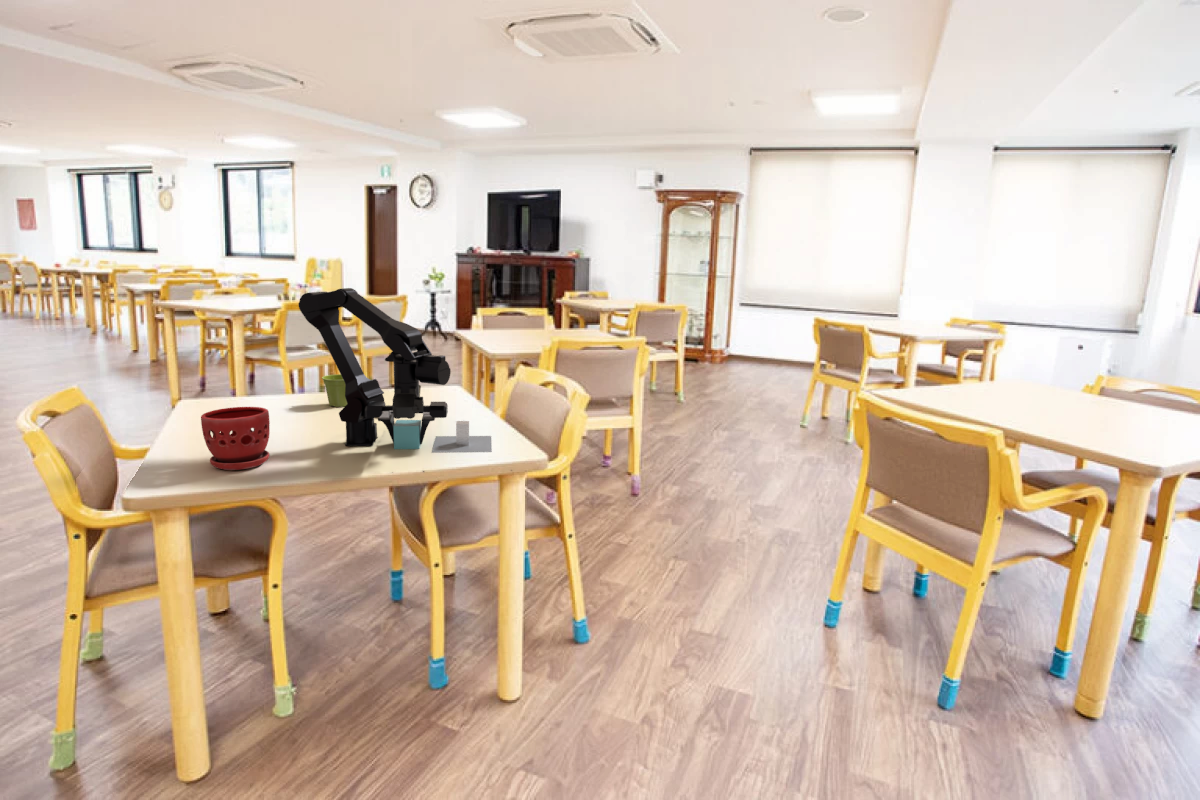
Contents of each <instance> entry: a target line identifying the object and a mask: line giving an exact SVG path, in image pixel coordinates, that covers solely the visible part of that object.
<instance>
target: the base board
mask: <svg viewBox="0 0 1200 800" xmlns="http://www.w3.org/2000/svg"><path fill="white" fill-rule="evenodd" d="M434 437H435V438H434V442H433V447H432V449H431V454H432V453H433V454H434V453H438V454H439V453H440V454H441V453H446V454H447V453H492V451H493V450H492V449H493V448H492V436H491V435H469V445H465V446H456V435H440V436H439V435H437V436H434Z"/></svg>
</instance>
